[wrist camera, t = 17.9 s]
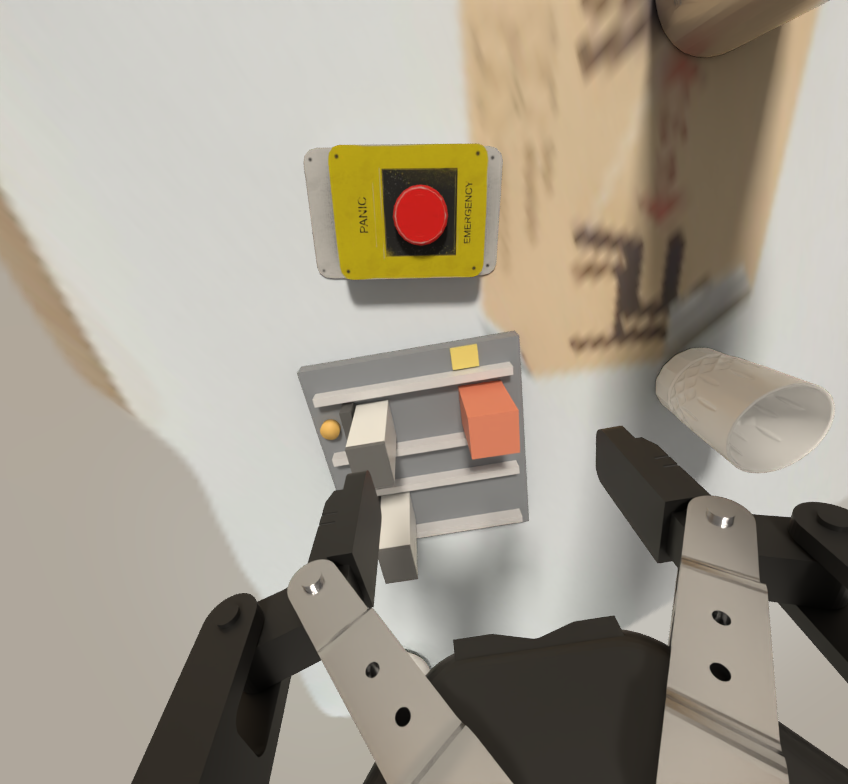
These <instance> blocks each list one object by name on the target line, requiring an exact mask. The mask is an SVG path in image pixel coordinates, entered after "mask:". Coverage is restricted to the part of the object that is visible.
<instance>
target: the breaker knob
mask: <svg viewBox="0 0 848 784" xmlns="http://www.w3.org/2000/svg"><path fill="white" fill-rule="evenodd" d="M381 514H382V522H381V533H380V543H379V554H378V560H379V563H380V566H381V570H382V573H383V576H384V579H385V583H386V584H388V583H394V582H401V581H408V580H414V579H418V569H417V541H416V519H415V514H414V510H413V506H412V501H411V497H410V492H404V493H398V494H391V495H385V496H381Z"/></svg>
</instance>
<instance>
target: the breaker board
mask: <svg viewBox="0 0 848 784" xmlns="http://www.w3.org/2000/svg"><path fill="white" fill-rule="evenodd" d="M297 375H298V378H299V381H300V384H301V387H302V390H303V393H304V396H305V399H306V401H307V404H308V407H309V410H310V413H311V416H312V419H313V422H314V425H315V428H316V431H317V434H318V437H319V440H320V443H321V446H322V449H323V452H324V455H325V458H326V461H327V464H328V467H329V470H330V473H331V476H332V479H333V482H334V485H335V488H336V490H342V489H343V487H344V483H345V479H346V475H347V474H349V473H352V472H351V469H350V465H349V462H348V459H347V455H346V452H345V448H346V444H347V440H348V436H349V432H350V428H351V424H352V421H353V417H354V413H355V409H356V405H360V404H366V403H372V402H378V401H384V400H388V401H389V406H390V410H391V414H392V419H393V423H394V428H395V432H396V460H395V485H394V486H388V487H382V488H376V489H375V490H376V493H377V496H378V499H379V502H380V507H381V496H385V495H391V494H398V493H404V492H410V497H411V501H412V506H413V510H414V514H415V519H416V539H417V538H423V537H430V536H436V535H443V534H449V533H455V532H462V531H468V530H475V529H481V528H487V527H494V526H500V525H507V524H513V523H519V522H526V521H529V513H528V494H527V475H526V456H525V437H524V418H523V399H522V380H521V361H520V342H519V335H518V334H517V333H516V332H515V331H510V332H504V333H498V334H492V335H487V336H481V337H475V338H469V339H463V340H457V341H451V342H445V343H440V344H434V345H428V346H422V347H416V348H410V349H404V350H398V351H392V352H387V353H381V354H375V355H369V356H363V357H357V358H351V359H345V360H340V361H334V362H328V363H322V364H316V365H310V366H304V367H301V368H300V370H299V371H298V372H297ZM497 380H501V381H502V383H503V385H504V386H505V388H506V390H507V392H508V393H509V395H510V397H511V398H512V400H513V402H514V403H515V405H516V407H517V408H518V410H519V435H520V453H514V454H507V455H500V456H493V457H486V458H479V459H472V457H471V454H470V450H469V446H468V443H467V439H466V436H465V432H464V429H463V425H462V419H461V410H460V401H459V392H458V386H463V385H470V384H477V383H483V382H490V381H497Z"/></svg>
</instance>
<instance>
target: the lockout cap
mask: <svg viewBox="0 0 848 784" xmlns="http://www.w3.org/2000/svg"><path fill="white" fill-rule="evenodd" d="M458 392H459V401H460V410H461V419H462V425H463V429H464V432H465V436H466V439H467V443H468V446H469V450H470V454H471V457H472V459H479V458H486V457H493V456H500V455H507V454H514V453H520V435H519V410H518V408H517V407H516V405H515V403H514V402H513V400H512V398H511V397H510V395H509V393H508V392H507V390H506V388H505V386H504V385H503V383H502V381H501V380H497V381H490V382H483V383H477V384H470V385H463V386H458Z"/></svg>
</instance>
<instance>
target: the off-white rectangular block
mask: <svg viewBox="0 0 848 784" xmlns="http://www.w3.org/2000/svg"><path fill="white" fill-rule="evenodd" d="M345 452H346V455H347V459H348V462H349V465H350V469H351V472H352V473H355V472H361V471H366V470H368V471H369V472H370V474H371V477H372V480H373V484H374V487H375V489H376V488H382V487H388V486H394V485H395V460H396V432H395V428H394V423H393V419H392V414H391V410H390V406H389V401H388V400H384V401H378V402H372V403H366V404H360V405H356V409H355V413H354V417H353V421H352V424H351V428H350V432H349V436H348V440H347V444H346V448H345Z"/></svg>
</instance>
